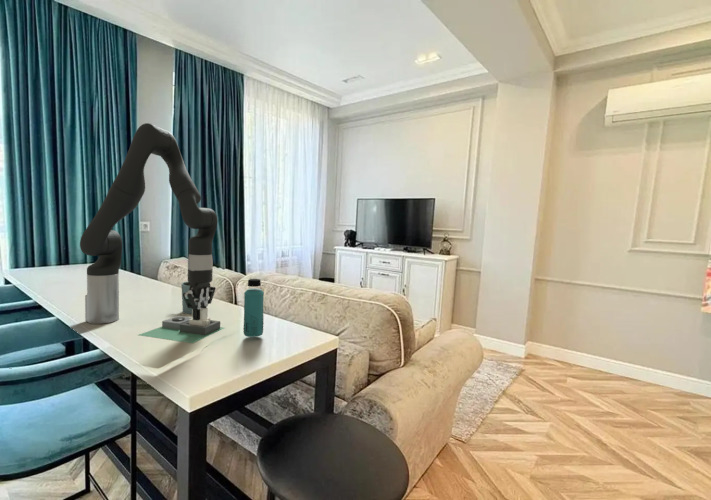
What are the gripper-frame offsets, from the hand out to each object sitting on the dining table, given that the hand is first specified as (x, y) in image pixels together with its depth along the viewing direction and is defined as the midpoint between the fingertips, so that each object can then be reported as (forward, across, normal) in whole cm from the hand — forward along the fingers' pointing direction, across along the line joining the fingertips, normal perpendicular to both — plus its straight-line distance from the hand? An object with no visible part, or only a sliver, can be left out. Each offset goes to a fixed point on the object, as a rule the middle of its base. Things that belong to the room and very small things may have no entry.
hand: (199, 318), depth 112 cm
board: (+5, +3, -4) cm, 7 cm away
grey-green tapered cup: (+6, -23, -21) cm, 31 cm away
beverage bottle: (+6, -3, +18) cm, 19 cm away
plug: (+3, 0, 0) cm, 3 cm away
